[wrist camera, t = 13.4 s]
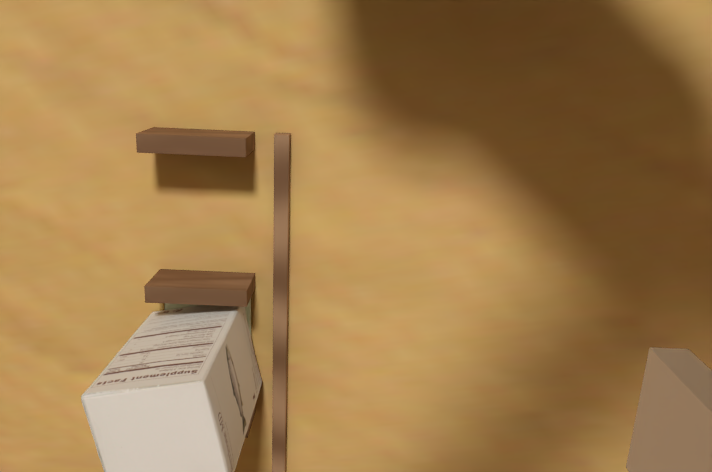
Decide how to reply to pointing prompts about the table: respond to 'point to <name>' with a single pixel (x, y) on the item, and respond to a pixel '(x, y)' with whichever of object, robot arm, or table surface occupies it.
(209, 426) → the supplement box
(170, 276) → the notch rail
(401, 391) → the table surface
